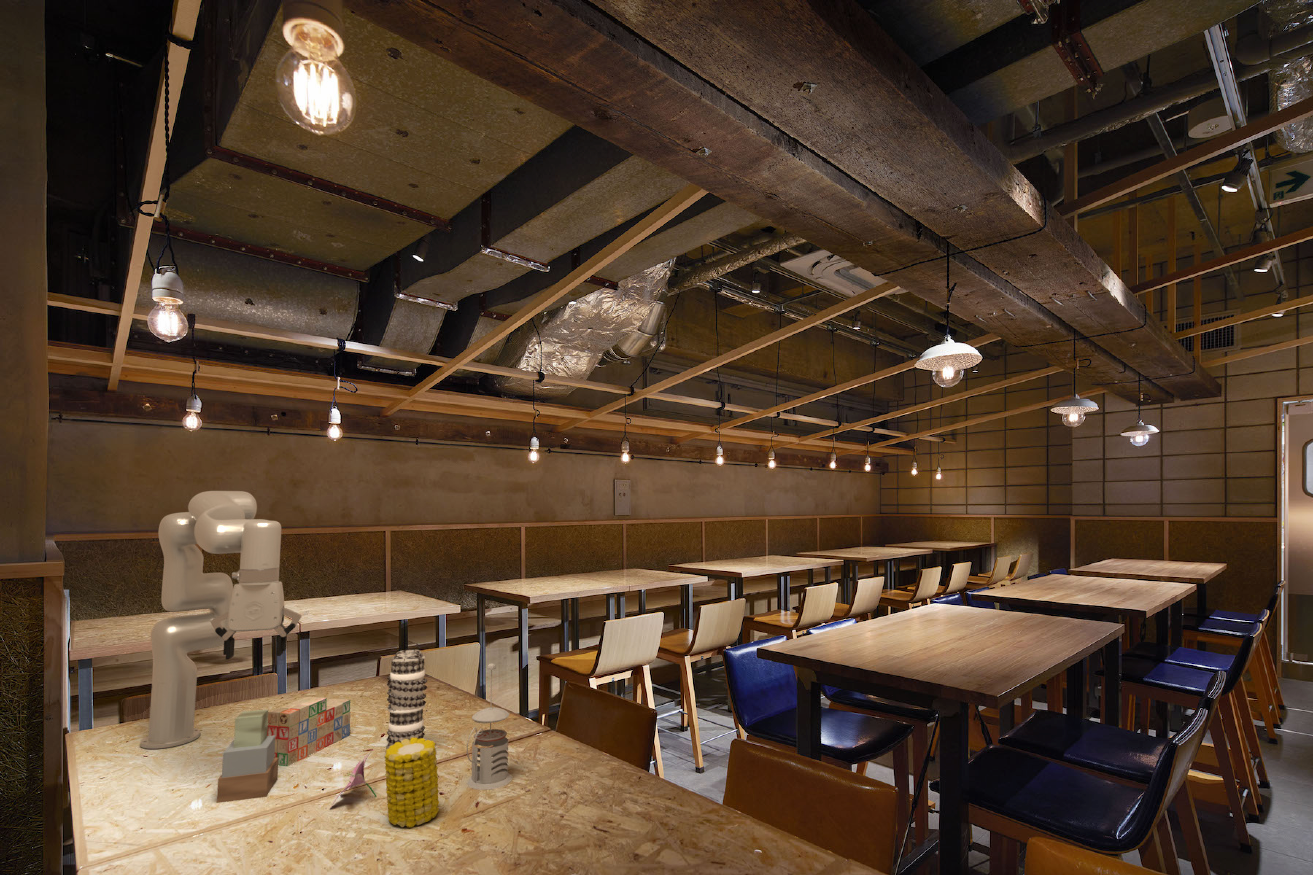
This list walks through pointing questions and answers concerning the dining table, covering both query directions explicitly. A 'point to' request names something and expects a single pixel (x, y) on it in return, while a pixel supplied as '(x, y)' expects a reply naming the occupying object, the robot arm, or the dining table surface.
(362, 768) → the lily
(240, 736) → the sage block
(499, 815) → the dining table surface
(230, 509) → the robot arm
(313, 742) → the stack of blocks
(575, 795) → the dining table surface
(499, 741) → the french press
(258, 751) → the tower top
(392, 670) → the decorative candle
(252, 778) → the tower base
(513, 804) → the dining table surface
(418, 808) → the food
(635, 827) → the dining table surface
